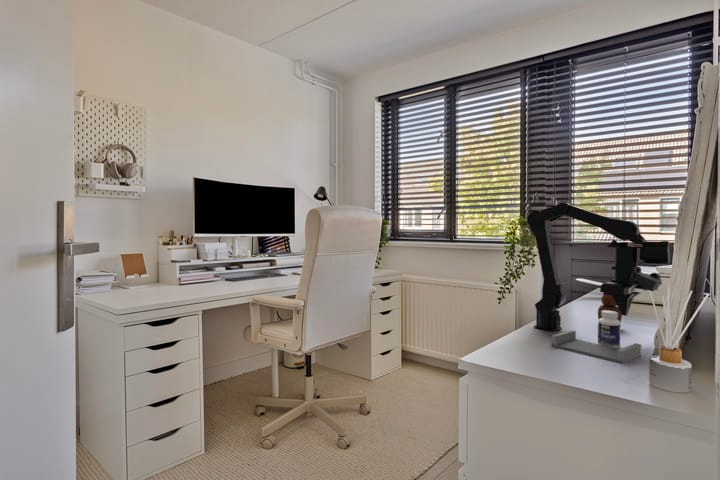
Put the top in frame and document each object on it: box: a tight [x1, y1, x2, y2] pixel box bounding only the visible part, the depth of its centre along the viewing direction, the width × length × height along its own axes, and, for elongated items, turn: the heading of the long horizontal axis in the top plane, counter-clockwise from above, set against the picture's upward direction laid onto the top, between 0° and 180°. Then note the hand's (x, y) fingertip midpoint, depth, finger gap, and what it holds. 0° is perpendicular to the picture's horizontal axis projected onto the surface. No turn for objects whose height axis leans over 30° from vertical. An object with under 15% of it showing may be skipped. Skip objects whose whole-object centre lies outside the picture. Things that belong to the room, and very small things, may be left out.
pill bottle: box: [597, 310, 622, 349], centre depth 115 cm, size 5×5×10 cm
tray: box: [550, 329, 642, 364], centre depth 110 cm, size 18×11×3 cm, turn 35°
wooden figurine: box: [597, 292, 623, 323], centre depth 137 cm, size 7×6×15 cm
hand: (624, 315), depth 120 cm, fingers closed
